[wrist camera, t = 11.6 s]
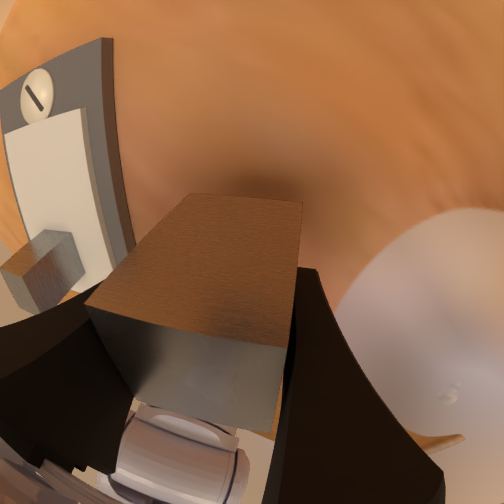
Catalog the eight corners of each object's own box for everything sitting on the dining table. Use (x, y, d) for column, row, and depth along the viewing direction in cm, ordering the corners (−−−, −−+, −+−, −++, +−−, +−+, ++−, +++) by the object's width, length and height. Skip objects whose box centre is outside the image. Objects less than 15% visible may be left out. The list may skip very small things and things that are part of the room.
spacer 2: (291, 294, 11) (270, 433, 6) (198, 281, 12) (136, 400, 7) (302, 202, 9) (287, 348, 4) (189, 193, 10) (83, 303, 5)
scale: (149, 298, 23) (140, 312, 22) (51, 274, 25) (42, 283, 24) (112, 38, 12) (95, 37, 10) (8, 88, 14) (-7, 92, 12)
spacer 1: (85, 272, 21) (44, 319, 16) (58, 266, 21) (19, 307, 16) (71, 232, 19) (21, 277, 14) (44, 229, 19) (-1, 268, 14)
